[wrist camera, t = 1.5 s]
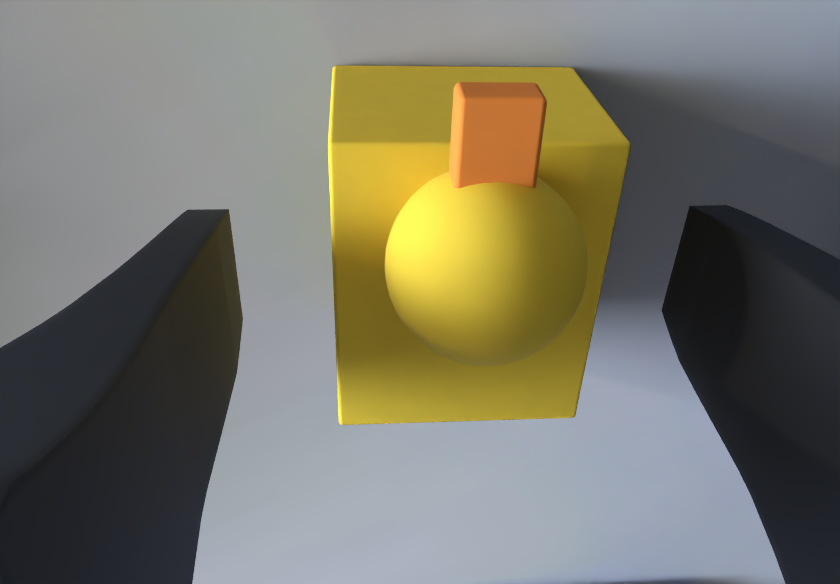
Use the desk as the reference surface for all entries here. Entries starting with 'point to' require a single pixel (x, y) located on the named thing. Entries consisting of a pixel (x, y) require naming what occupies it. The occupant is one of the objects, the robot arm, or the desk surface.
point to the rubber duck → (467, 239)
